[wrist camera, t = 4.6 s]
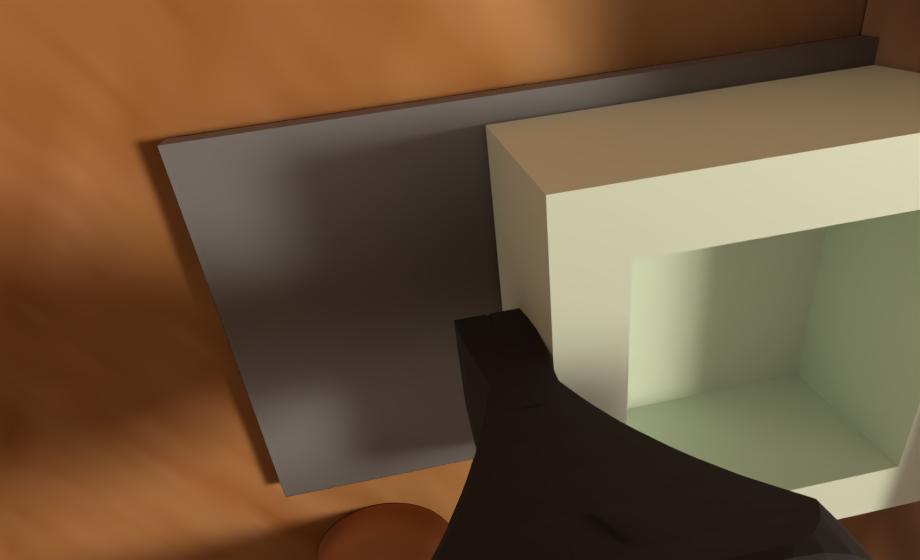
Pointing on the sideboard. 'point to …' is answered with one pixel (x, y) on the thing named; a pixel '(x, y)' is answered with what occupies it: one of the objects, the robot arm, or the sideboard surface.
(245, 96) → the sideboard surface
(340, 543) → the dowel
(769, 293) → the socket block
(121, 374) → the sideboard surface
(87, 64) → the sideboard surface
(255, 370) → the block
